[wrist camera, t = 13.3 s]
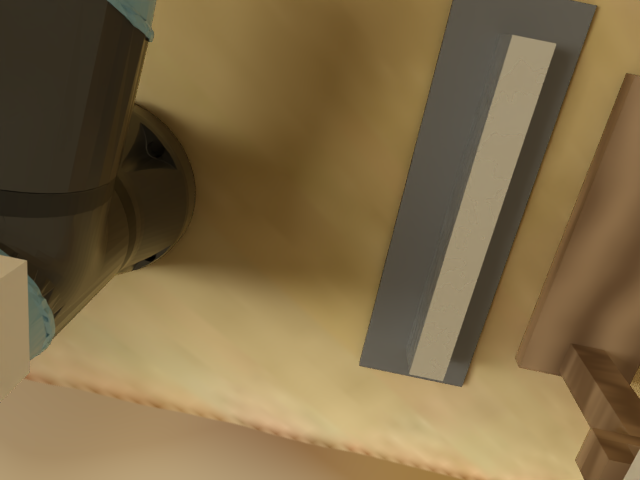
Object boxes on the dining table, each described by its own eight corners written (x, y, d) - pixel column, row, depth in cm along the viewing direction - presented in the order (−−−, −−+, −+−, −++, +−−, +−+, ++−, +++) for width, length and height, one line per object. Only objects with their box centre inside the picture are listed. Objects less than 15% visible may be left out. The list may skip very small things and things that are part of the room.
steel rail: (405, 348, 50) (409, 374, 47) (498, 33, 40) (512, 34, 36) (437, 354, 50) (442, 381, 47) (538, 41, 40) (556, 43, 36)
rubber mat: (359, 362, 52) (359, 365, 51) (458, -22, 39) (459, -23, 38) (461, 383, 52) (461, 387, 51) (594, 5, 39) (596, 5, 38)
